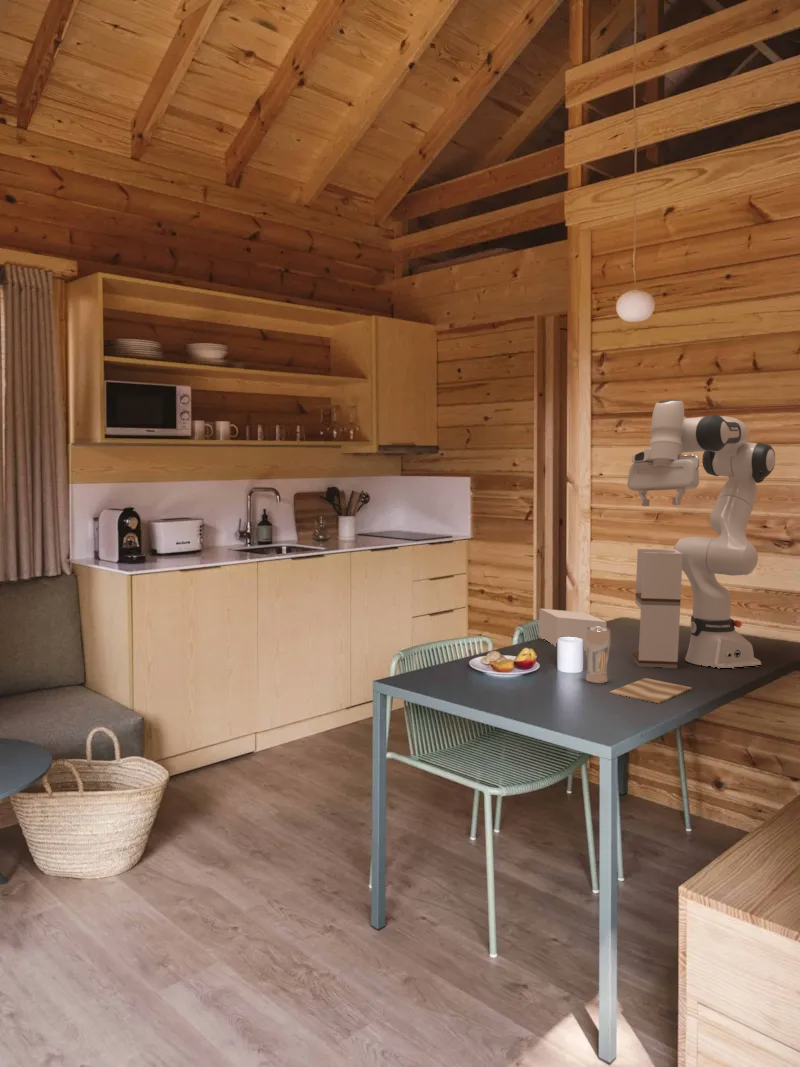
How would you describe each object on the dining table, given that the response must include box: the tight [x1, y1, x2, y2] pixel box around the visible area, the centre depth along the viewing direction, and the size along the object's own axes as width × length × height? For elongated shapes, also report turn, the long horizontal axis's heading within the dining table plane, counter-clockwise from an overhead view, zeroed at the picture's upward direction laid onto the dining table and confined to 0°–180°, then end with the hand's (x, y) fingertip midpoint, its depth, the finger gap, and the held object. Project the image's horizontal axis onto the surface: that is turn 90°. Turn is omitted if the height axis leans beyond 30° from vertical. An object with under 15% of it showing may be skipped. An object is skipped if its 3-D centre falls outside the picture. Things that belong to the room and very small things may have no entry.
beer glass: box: [584, 627, 612, 684], centre depth 247 cm, size 7×7×15 cm
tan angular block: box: [538, 608, 607, 651], centre depth 294 cm, size 14×29×10 cm, turn 39°
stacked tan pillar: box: [632, 548, 683, 669], centre depth 268 cm, size 11×11×35 cm
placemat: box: [609, 677, 693, 705], centre depth 237 cm, size 20×14×1 cm
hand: (660, 505), depth 239 cm, fingers open, 8 cm apart
